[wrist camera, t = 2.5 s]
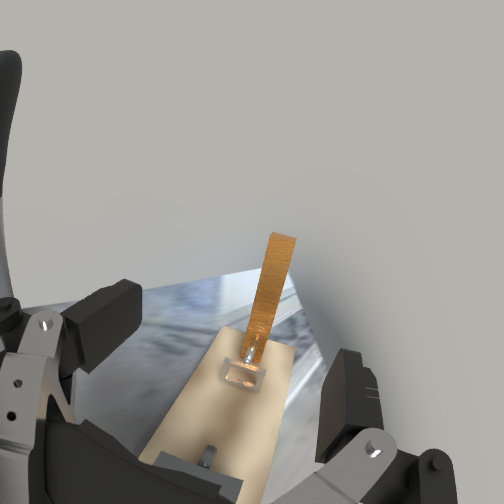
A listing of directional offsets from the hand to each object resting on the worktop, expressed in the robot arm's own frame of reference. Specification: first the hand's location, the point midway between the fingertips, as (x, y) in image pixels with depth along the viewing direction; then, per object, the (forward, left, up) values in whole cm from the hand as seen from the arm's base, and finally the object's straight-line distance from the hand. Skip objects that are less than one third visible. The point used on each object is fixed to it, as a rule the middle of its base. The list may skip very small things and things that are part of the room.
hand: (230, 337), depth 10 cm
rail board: (0, +8, -17) cm, 19 cm away
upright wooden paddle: (0, +16, -15) cm, 22 cm away
